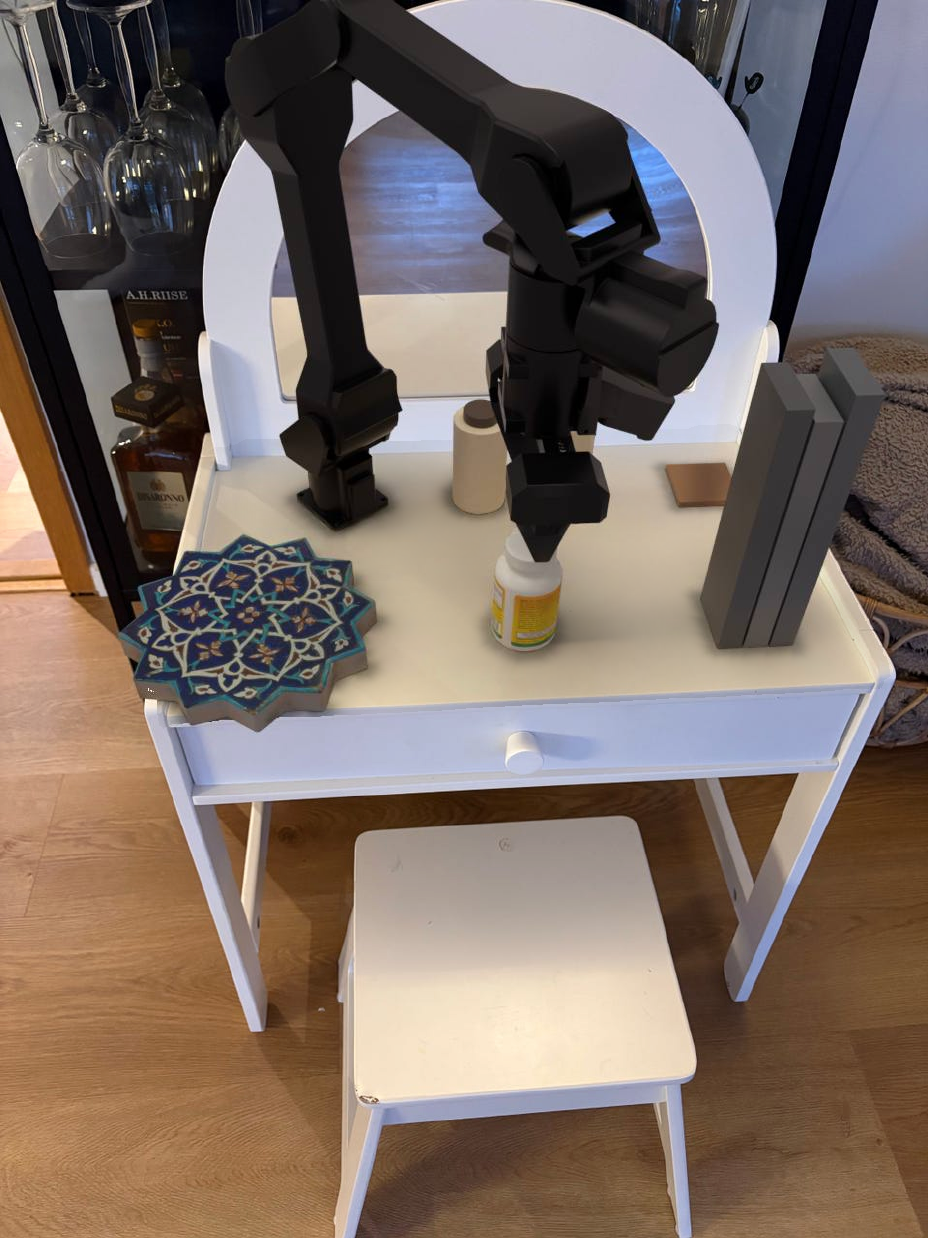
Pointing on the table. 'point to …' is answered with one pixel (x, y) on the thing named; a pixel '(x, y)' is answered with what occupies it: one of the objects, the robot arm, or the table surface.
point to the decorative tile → (249, 632)
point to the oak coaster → (699, 483)
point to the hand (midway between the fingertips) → (533, 519)
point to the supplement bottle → (525, 597)
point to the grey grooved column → (787, 496)
